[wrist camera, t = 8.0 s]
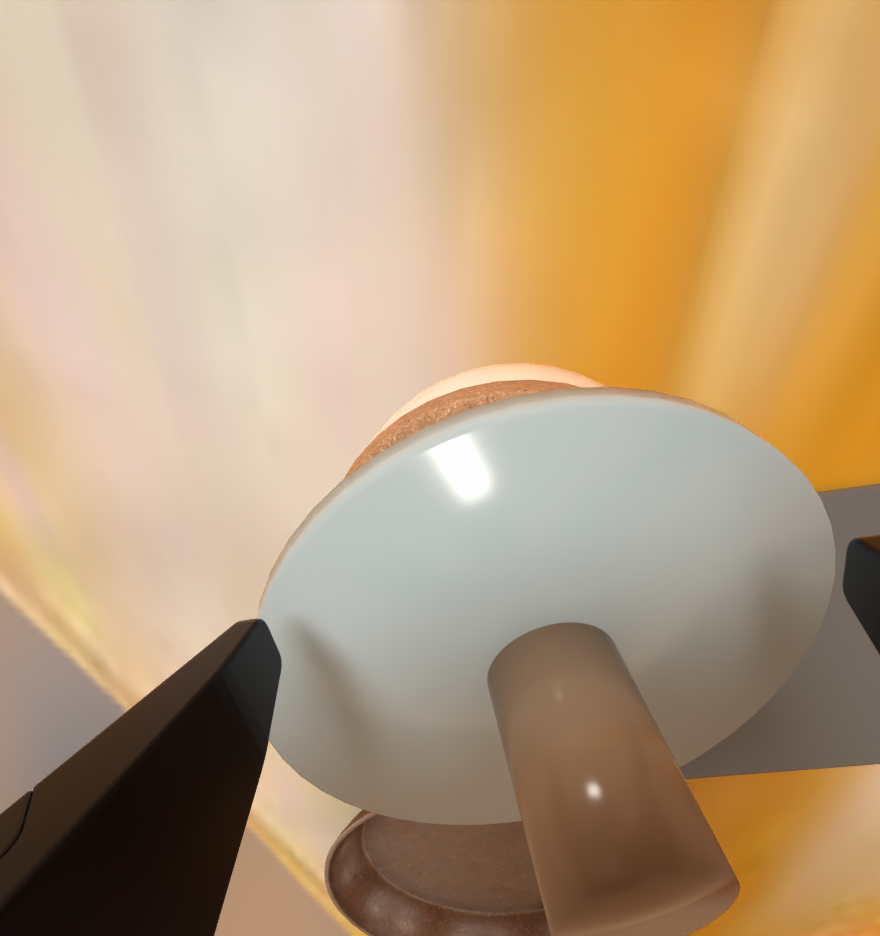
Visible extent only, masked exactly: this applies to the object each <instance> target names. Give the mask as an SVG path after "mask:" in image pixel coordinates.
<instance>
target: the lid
mask: <svg viewBox="0 0 880 936" xmlns="http://www.w3.org/2000/svg"><path fill="white" fill-rule="evenodd" d="M835 552H836V550H835V544H834V538H833V532H832V527H831V523H830V520H829V518H828V515H827V513H826V510H825V508H824V505H823V503H822V500H821V498H820V497H819V495H818V494H817V492H816V491H815V489H814V488H813V486H812V485H811V483H810V482H809V481H808V479H807V478H806V476H805V475H804V474H803V473H802V472H801V471H800V470H799V469H798V468H797V467H796V466H795V465H794V464H793V463H792V462H791V461H790V460H789V459H788V458H786V457H785V456H784V455H783V454H782V453H781V452H780V451H779V450H777V449H776V448H775V447H773V446H772V445H771V444H769V443H768V442H767V441H765V440H764V439H763V438H761V437H760V436H759V435H757V434H756V433H755V432H753V431H752V430H750V429H748V428H747V427H745V426H744V425H742V424H740V423H739V422H737V421H736V420H734V419H733V418H731V417H729V416H728V415H726V414H724V413H722V412H719V411H717V410H715V409H712V408H710V407H707V406H705V405H702V404H700V403H697V402H695V401H693V400H690V399H685V398H681V397H677V396H673V395H668V394H664V393H660V392H656V391H651V390H640V389H629V388H618V387H586V388H562V389H556V390H550V391H544V392H537V393H531V394H525V395H519V396H514V397H510V398H507V399H503V400H500V401H496V402H493V403H489V404H486V405H482V406H479V407H476V408H472V409H469V410H466V411H463V412H461V413H459V414H456V415H454V416H451V417H449V418H447V419H444V420H442V421H439V422H437V423H435V424H432V425H430V426H428V427H425V428H423V429H421V430H419V431H417V432H415V433H414V434H412V435H410V436H408V437H407V438H405V439H403V440H401V441H400V442H398V443H396V444H394V445H392V446H391V447H389V448H387V449H385V450H384V451H382V452H380V453H379V454H377V455H376V456H375V457H373V458H372V459H371V460H369V461H368V462H367V463H365V464H364V465H362V466H361V467H360V468H358V469H357V470H356V471H354V472H353V473H352V474H350V475H349V476H348V477H346V478H345V479H344V480H343V481H341V482H340V483H339V484H338V485H337V486H336V487H335V488H334V489H333V490H332V491H331V492H330V493H329V494H328V495H327V496H326V497H325V498H324V499H323V500H322V501H321V502H320V503H319V504H317V505H316V506H315V507H314V508H313V509H312V511H311V512H310V513H309V515H308V516H307V517H306V518H305V520H304V521H303V522H302V523H301V525H300V526H299V527H298V528H297V530H296V531H295V532H294V534H293V535H292V536H291V537H290V539H289V540H288V542H287V544H286V545H285V547H284V549H283V551H282V552H281V554H280V556H279V558H278V559H277V561H276V563H275V565H274V566H273V568H272V570H271V572H270V575H269V578H268V581H267V583H266V586H265V589H264V592H263V594H262V597H261V600H260V604H259V609H258V615H257V619H258V618H259V619H262V620H264V621H265V622H266V623H267V625H268V627H269V630H270V632H271V634H272V636H273V639H274V641H275V643H276V646H277V648H278V650H279V652H280V655H281V661H282V669H281V675H280V680H279V686H278V691H277V697H276V702H275V708H274V713H273V719H272V725H271V730H270V736H269V741H270V743H271V744H272V745H273V747H274V748H275V749H276V751H277V752H278V753H279V755H280V756H281V757H282V759H283V760H284V761H285V762H286V763H287V764H288V765H290V766H291V767H292V768H293V769H294V770H295V771H296V772H297V773H298V774H299V775H300V776H301V777H303V778H304V779H306V780H307V781H308V782H310V783H311V784H313V785H314V786H316V787H317V788H319V789H320V790H321V791H323V792H325V793H327V794H329V795H331V796H333V797H335V798H337V799H339V800H341V801H343V802H345V803H347V804H350V805H353V806H356V807H358V808H361V809H364V810H366V811H369V812H373V813H377V814H380V815H384V816H388V817H392V818H396V819H402V820H409V821H415V822H422V823H432V824H447V825H484V824H496V823H509V822H516V821H522V823H523V827H524V831H525V835H526V839H527V843H528V847H529V851H530V855H531V858H532V862H533V866H534V870H535V874H536V878H537V882H538V886H539V890H540V894H541V898H542V902H543V906H544V910H545V914H546V918H547V921H548V925H549V929H550V933H551V936H686V935H688V934H690V933H692V932H695V931H697V930H698V929H700V928H702V927H704V926H706V925H707V924H709V923H710V922H712V921H713V920H715V919H716V918H718V917H719V916H720V915H722V914H723V913H724V912H725V911H726V910H727V909H728V908H729V907H730V906H731V905H732V904H733V903H734V901H735V900H736V898H737V896H738V894H739V890H740V885H739V882H738V880H737V878H736V876H735V874H734V872H733V870H732V868H731V866H730V864H729V862H728V860H727V858H726V857H725V855H724V853H723V851H722V849H721V847H720V845H719V843H718V841H717V839H716V837H715V835H714V833H713V831H712V830H711V828H710V826H709V824H708V822H707V820H706V818H705V816H704V814H703V812H702V810H701V808H700V806H699V805H698V803H697V801H696V799H695V797H694V795H693V793H692V791H691V789H690V787H689V785H688V783H687V781H686V780H685V778H684V776H683V774H682V772H681V770H680V767H682V766H683V765H685V764H687V763H688V762H690V761H692V760H694V759H695V758H697V757H699V756H700V755H702V754H704V753H705V752H706V751H708V750H709V749H711V748H712V747H714V746H715V745H717V744H718V743H719V742H721V741H722V740H724V739H725V738H727V737H728V736H729V735H730V734H732V733H733V732H734V731H735V730H737V729H738V728H739V727H740V726H742V725H743V724H744V723H745V722H746V721H748V720H749V719H750V718H751V717H752V716H753V715H754V714H755V713H756V712H757V711H758V710H760V709H761V708H762V707H763V706H764V705H765V704H766V703H767V702H768V701H769V700H770V699H771V698H772V697H773V696H774V695H775V693H776V692H777V691H778V690H779V689H780V688H781V686H782V685H783V684H784V683H785V682H786V681H787V679H788V678H789V677H790V676H791V675H792V673H793V672H794V670H795V669H796V667H797V666H798V665H799V663H800V662H801V660H802V659H803V657H804V656H805V655H806V653H807V651H808V649H809V648H810V646H811V644H812V642H813V640H814V638H815V636H816V635H817V633H818V631H819V629H820V627H821V624H822V621H823V619H824V616H825V613H826V611H827V608H828V605H829V602H830V597H831V593H832V588H833V583H834V578H835Z"/></svg>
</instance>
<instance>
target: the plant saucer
mask: <svg viewBox="0 0 880 936" xmlns="http://www.w3.org/2000/svg"><path fill="white" fill-rule="evenodd" d="M324 875H325V884H326V887H327V891H328V894H329V896H330V898H331V900H332V901H333V903H334V904H335V906H336V908H337V909H338V910H339V911H340V913H341V914H342V915H343V916H344V917H345V918H347V919H348V920H349V921H350V923H351V924H353V925H354V926H356V927H357V928H358V929H359V930H361V931H362V932H364V933H366V934H367V935H369V936H551V933H550V929H549V925H548V921H547V918H546V914H545V910H544V906H543V902H542V898H541V894H540V890H539V886H538V882H537V878H536V874H535V870H534V866H533V862H532V858H531V855H530V851H529V847H528V843H527V839H526V835H525V831H524V827H523V823H522V821H516V822H509V823H496V824H484V825H447V824H432V823H422V822H415V821H409V820H402V819H396V818H392V817H388V816H384V815H380V814H377V813H373V812H369V811H366V810H364V809H363V810H362V811H361V812H360V813H359V814H358V815H357V816H356V817H355V818H354V819H353V820H352V821H351V822H350V823H349V825H348V826H347V827H346V828H345V829H344V830H343V832H342V833H341V834H340V836H339V837H338V838H337V840H336V841H335V843H334V844H333V846H332V847H331V849H330V851H329V854H328V856H327V859H326V863H325V873H324Z"/></svg>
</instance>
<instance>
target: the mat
mask: <svg viewBox="0 0 880 936" xmlns="http://www.w3.org/2000/svg"><path fill="white" fill-rule="evenodd" d="M817 494H818V495H819V497H820V498H821V500H822V503H823V505H824V508H825V510H826V513H827V515H828V518H829V520H830V523H831V527H832V532H833V538H834V544H835V550H836V552H835V578H834V583H833V588H832V593H831V597H830V602H829V605H828V608H827V611H826V613H825V616H824V619H823V621H822V624H821V627H820V629H819V631H818V633H817V635H816V636H815V638H814V640H813V642H812V644H811V646H810V648H809V649H808V651H807V653H806V655H805V656H804V657H803V659H802V660H801V662H800V663H799V665H798V666H797V667H796V669H795V670H794V672H793V673H792V675H791V676H790V677H789V678H788V679H787V681H786V682H785V683H784V684H783V685H782V686H781V688H780V689H779V690H778V691H777V692H776V693H775V695H774V696H773V697H772V698H771V699H770V700H769V701H768V702H767V703H766V704H765V705H764V706H763V707H762V708H761V709H760V710H758V711H757V712H756V713H755V714H754V715H753V716H752V717H751V718H750V719H749V720H748V721H746V722H745V723H744V724H743V725H742V726H740V727H739V728H738V729H737V730H735V731H734V732H733V733H732V734H730V735H729V736H728V737H727V738H725V739H724V740H722V741H721V742H719V743H718V744H717V745H715V746H714V747H712V748H711V749H709V750H708V751H706V752H705V753H704V754H702V755H700V756H699V757H697V758H695V759H694V760H692V761H690V762H688V763H687V764H685V765H683V766H682V767H680V770H681V772H682V774H683V776H684V778H685V779H690V778H703V777H716V776H729V775H742V774H755V773H768V772H781V771H794V770H807V769H820V768H833V767H846V766H859V765H872V764H880V655H879V653H878V652H877V650H876V648H875V647H874V645H873V643H872V642H871V640H870V638H869V637H868V635H867V633H866V632H865V630H864V629H863V627H862V625H861V624H860V622H859V620H858V619H857V617H856V615H855V614H854V612H853V610H852V609H851V607H850V605H849V604H848V602H847V600H846V598H845V595H844V592H843V586H842V582H843V574H844V566H845V558H846V551H847V546H848V544H849V542H850V541H851V540H852V539H854V538H858V537H865V536H873V535H880V484H878V485H870V486H862V487H855V488H847V489H840V490H832V491H824V492H817Z"/></svg>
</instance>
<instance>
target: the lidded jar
mask: <svg viewBox="0 0 880 936" xmlns="http://www.w3.org/2000/svg"><path fill="white" fill-rule="evenodd" d="M586 387H606V386H605V385H603V384H601V383H599V382H596V381H594V380H592V379H590V378H587V377H585V376H583V375H581V374H579V373H576V372H572V371H568V370H564V369H561V368H557V367H553V366H548V365H538V364H528V363H512V364H495V365H490V366H485V367H480V368H475V369H471V370H467V371H464V372H462V373H459V374H456V375H454V376H451V377H448V378H446V379H443V380H441V381H440V382H438V383H436V384H434V385H433V386H431V387H429V388H427V389H426V390H424V391H422V392H420V393H419V394H418V395H417V396H415V397H414V398H413V399H412V400H411V401H409V402H408V403H407V404H406V405H404V406H403V407H402V408H401V409H399V410H398V411H397V412H396V413H395V414H394V415H393V416H392V417H391V418H390V419H389V420H388V422H387V423H386V424H385V425H384V426H383V427H382V428H381V429H380V431H379V432H378V433H377V434H376V435H375V437H374V438H373V440H372V441H371V442H370V444H369V445H368V447H367V448H366V449H365V450H364V451H363V452H362V453H361V455H360V456H359V457H358V458H357V459H356V460H355V462H354V463H353V465H352V467H351V468H350V470H349V471H348V473H347V475H346V476H345V478H346V477H348V476H349V475H350V474H352V473H353V472H354V471H356V470H357V469H358V468H360V467H361V466H362V465H364V464H365V463H367V462H368V461H369V460H371V459H372V458H373V457H375V456H376V455H377V454H379V453H380V452H382V451H384V450H385V449H387V448H389V447H391V446H392V445H394V444H396V443H398V442H400V441H401V440H403V439H405V438H407V437H408V436H410V435H412V434H414V433H415V432H417V431H419V430H421V429H423V428H425V427H428V426H430V425H432V424H435V423H437V422H439V421H442V420H444V419H447V418H449V417H451V416H454V415H456V414H459V413H461V412H463V411H466V410H469V409H472V408H476V407H479V406H482V405H486V404H489V403H493V402H496V401H500V400H503V399H507V398H510V397H514V396H519V395H525V394H531V393H537V392H544V391H550V390H556V389H562V388H586ZM345 478H344V479H345Z"/></svg>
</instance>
